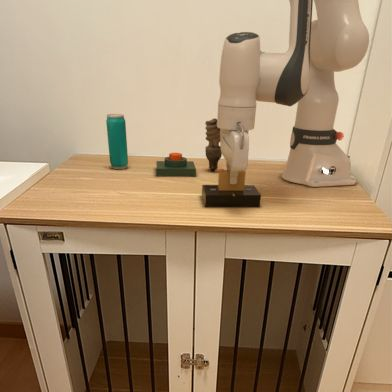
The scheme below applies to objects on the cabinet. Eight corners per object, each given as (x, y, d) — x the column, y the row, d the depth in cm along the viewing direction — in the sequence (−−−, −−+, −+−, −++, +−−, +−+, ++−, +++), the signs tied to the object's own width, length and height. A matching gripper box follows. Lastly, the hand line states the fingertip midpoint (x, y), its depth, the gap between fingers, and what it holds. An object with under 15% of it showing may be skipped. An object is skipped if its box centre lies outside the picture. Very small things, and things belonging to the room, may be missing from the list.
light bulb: (201, 171, 131) (203, 118, 122) (206, 168, 135) (208, 116, 126) (218, 173, 130) (221, 120, 121) (222, 170, 134) (226, 117, 125)
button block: (193, 168, 134) (193, 155, 132) (195, 176, 126) (196, 162, 124) (156, 168, 133) (156, 154, 131) (156, 176, 125) (156, 162, 123)
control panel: (252, 195, 112) (253, 183, 110) (260, 208, 103) (261, 195, 101) (201, 195, 111) (201, 183, 109) (205, 208, 102) (206, 195, 100)
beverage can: (126, 165, 135) (122, 113, 126) (130, 169, 131) (126, 116, 122) (108, 166, 134) (104, 113, 125) (112, 170, 129) (107, 116, 120)
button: (181, 158, 129) (181, 152, 128) (182, 161, 126) (182, 155, 125) (169, 158, 129) (168, 152, 128) (169, 161, 126) (169, 155, 125)
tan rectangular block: (242, 188, 106) (244, 169, 103) (243, 190, 105) (245, 171, 102) (217, 188, 106) (219, 169, 103) (218, 190, 104) (219, 170, 101)
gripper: (258, 127, 88) (251, 193, 96) (242, 113, 104) (237, 171, 112) (229, 126, 87) (224, 193, 95) (217, 113, 103) (214, 171, 112)
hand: (231, 181), depth 104 cm, fingers open, 3 cm apart
